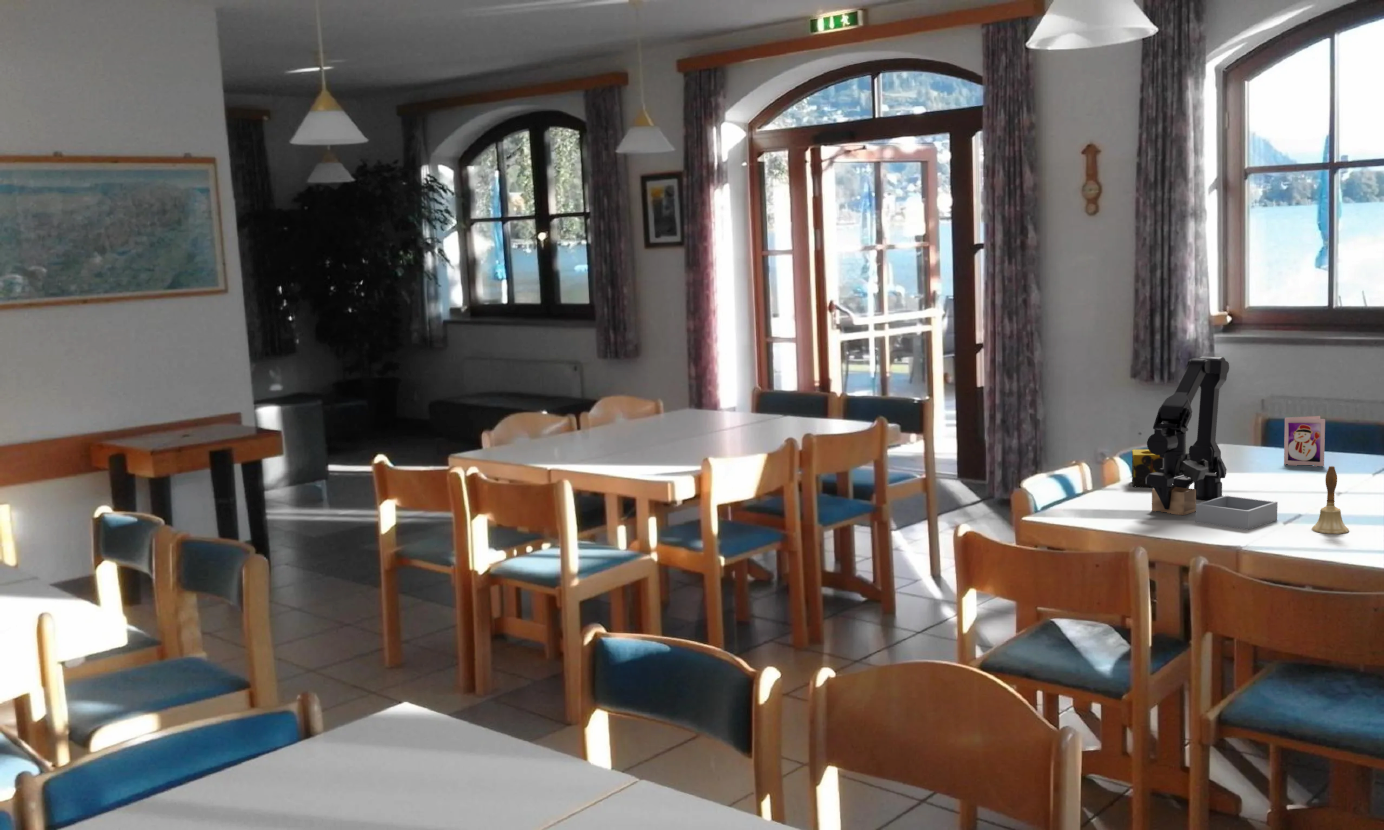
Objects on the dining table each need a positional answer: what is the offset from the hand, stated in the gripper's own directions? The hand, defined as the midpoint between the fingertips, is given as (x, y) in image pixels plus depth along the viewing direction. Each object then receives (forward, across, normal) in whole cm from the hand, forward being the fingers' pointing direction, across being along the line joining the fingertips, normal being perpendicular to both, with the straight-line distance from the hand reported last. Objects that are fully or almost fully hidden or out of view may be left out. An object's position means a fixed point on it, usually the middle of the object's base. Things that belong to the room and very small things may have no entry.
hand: (1173, 507), depth 349 cm
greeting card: (+1, +88, +6) cm, 88 cm away
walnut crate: (+1, 0, 0) cm, 1 cm away
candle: (+1, +29, +25) cm, 38 cm away
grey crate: (+1, -1, -18) cm, 18 cm away
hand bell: (+1, +3, -40) cm, 40 cm away
